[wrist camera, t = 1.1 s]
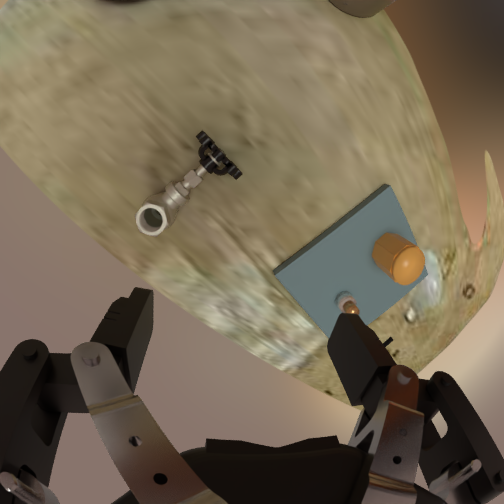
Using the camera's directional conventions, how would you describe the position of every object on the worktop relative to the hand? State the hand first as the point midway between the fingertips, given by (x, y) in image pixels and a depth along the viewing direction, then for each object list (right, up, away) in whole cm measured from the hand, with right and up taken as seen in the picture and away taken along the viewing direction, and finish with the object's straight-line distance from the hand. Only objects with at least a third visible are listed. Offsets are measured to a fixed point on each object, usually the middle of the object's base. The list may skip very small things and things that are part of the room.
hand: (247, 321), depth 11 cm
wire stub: (+14, -4, +27) cm, 31 cm away
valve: (-8, +11, +21) cm, 25 cm away
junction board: (+16, 0, +27) cm, 32 cm away
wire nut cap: (+20, +3, +25) cm, 32 cm away
